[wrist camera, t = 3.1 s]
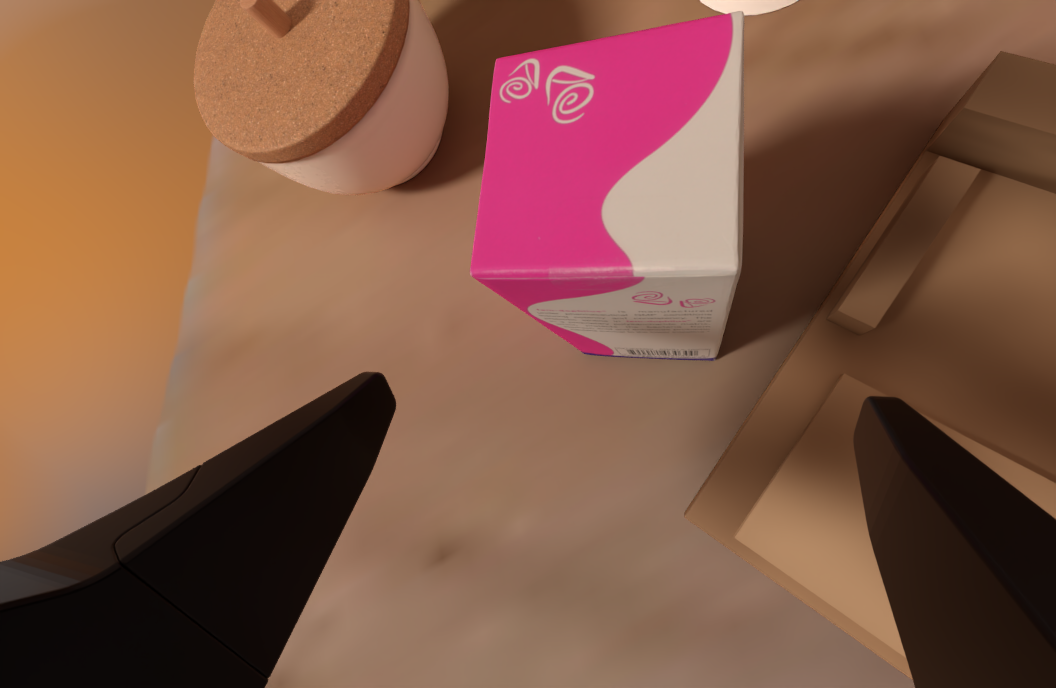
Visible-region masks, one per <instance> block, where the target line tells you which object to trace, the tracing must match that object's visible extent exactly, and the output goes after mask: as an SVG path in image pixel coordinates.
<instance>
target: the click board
mask: <svg viewBox="0 0 1056 688" xmlns="http://www.w3.org/2000/svg"><path fill="white" fill-rule="evenodd" d="M869 396H886V397H897V398H900V399H902V400H903V401H905V402H906V403H907V404H908V405H910V406H911V407H912V408H914V409H915V410H916V411H917V412H919V413H920V414H921V415H923V416H924V417H925V418H926V419H928V420H929V421H930V422H932V423H933V424H934V425H935V426H937V427H938V428H939V429H941V430H942V431H943V432H944V433H946V434H947V435H948V436H950V437H951V438H952V439H953V440H955V441H956V442H957V443H959V444H960V445H961V446H962V447H964V448H965V449H966V450H968V451H969V452H970V453H971V454H973V455H974V456H975V457H977V458H978V459H979V460H980V461H982V462H983V463H984V464H986V465H987V466H988V467H989V468H991V469H992V470H993V471H995V472H996V473H997V474H998V475H1000V476H1001V477H1002V478H1004V479H1005V480H1006V481H1008V482H1009V483H1010V484H1011V485H1013V486H1014V487H1015V488H1017V489H1018V490H1019V491H1020V492H1022V493H1023V494H1024V495H1026V496H1027V497H1028V498H1029V499H1031V500H1032V501H1033V502H1035V503H1036V504H1037V505H1038V506H1040V507H1041V508H1042V509H1044V510H1045V511H1046V512H1047V513H1049V514H1050V515H1051V516H1053V517H1054V518H1055V519H1056V65H1054V64H1050V63H1046V62H1042V61H1038V60H1034V59H1030V58H1026V57H1022V56H1018V55H1014V54H1010V53H1006V52H1002V51H1001V52H1000V53H999V54H998V55H997V57H996V58H995V59H994V60H993V61H992V63H991V64H990V65H989V66H988V67H987V68H986V70H985V71H984V72H983V73H982V74H981V76H980V77H979V78H978V79H977V80H976V82H975V83H974V84H973V85H972V86H971V88H970V89H969V90H968V91H967V92H966V93H965V95H964V96H963V97H962V98H961V99H960V101H959V102H958V103H957V104H956V105H955V107H954V108H953V109H952V110H951V111H950V113H949V114H948V115H947V116H946V117H945V119H944V120H943V121H942V123H941V124H940V126H939V127H938V129H937V130H936V132H935V134H934V135H933V137H932V138H931V140H930V141H929V143H928V144H927V146H926V147H925V149H924V150H923V152H922V153H921V155H920V156H919V158H918V159H917V161H916V162H915V164H914V165H913V167H912V168H911V170H910V171H909V173H908V174H907V176H906V177H905V179H904V181H903V182H902V184H901V185H900V187H899V188H898V190H897V191H896V193H895V194H894V196H893V197H892V199H891V200H890V202H889V203H888V205H887V206H886V208H885V209H884V211H883V212H882V214H881V215H880V217H879V218H878V220H877V221H876V223H875V225H874V226H873V228H872V229H871V231H870V232H869V234H868V235H867V237H866V238H865V240H864V241H863V243H862V244H861V246H860V247H859V249H858V250H857V252H856V253H855V255H854V256H853V258H852V259H851V261H850V262H849V264H848V265H847V267H846V268H845V270H844V272H843V273H842V275H841V276H840V278H839V279H838V281H837V282H836V284H835V285H834V287H833V288H832V290H831V291H830V293H829V294H828V296H827V297H826V299H825V300H824V302H823V303H822V305H821V306H820V308H819V309H818V311H817V312H816V314H815V316H814V317H813V319H812V320H811V322H810V323H809V325H808V326H807V328H806V329H805V331H804V332H803V334H802V335H801V337H800V338H799V340H798V341H797V343H796V344H795V346H794V347H793V349H792V350H791V352H790V353H789V355H788V356H787V358H786V359H785V361H784V363H783V364H782V366H781V367H780V369H779V370H778V372H777V373H776V375H775V376H774V378H773V379H772V381H771V382H770V384H769V385H768V387H767V388H766V390H765V391H764V393H763V394H762V396H761V397H760V399H759V400H758V402H757V403H756V405H755V406H754V408H753V410H752V411H751V413H750V414H749V416H748V417H747V419H746V420H745V422H744V423H743V425H742V426H741V428H740V429H739V431H738V432H737V434H736V435H735V437H734V438H733V440H732V441H731V443H730V444H729V446H728V447H727V449H726V450H725V452H724V454H723V455H722V457H721V458H720V460H719V461H718V463H717V464H716V466H715V467H714V469H713V470H712V472H711V473H710V475H709V476H708V478H707V479H706V481H705V482H704V484H703V485H702V487H701V488H700V490H699V491H698V493H697V494H696V496H695V497H694V499H693V501H692V502H691V504H690V505H689V507H688V508H687V510H686V511H685V515H684V517H685V518H686V519H687V520H689V521H690V522H692V523H693V524H694V525H696V526H697V527H699V528H700V529H701V530H703V531H704V532H706V533H707V534H708V535H710V536H711V537H713V538H714V539H715V540H717V541H718V542H720V543H721V544H723V545H724V546H725V547H727V548H728V549H730V550H731V551H732V552H734V553H735V554H737V555H738V556H739V557H741V558H742V559H744V560H745V561H746V562H748V563H749V564H751V565H752V566H753V567H755V568H756V569H758V570H759V571H760V572H762V573H763V574H765V575H766V576H767V577H769V578H770V579H772V580H773V581H774V582H776V583H777V584H779V585H780V586H781V587H783V588H784V589H786V590H787V591H788V592H790V593H791V594H793V595H794V596H795V597H797V598H798V599H800V600H801V601H802V602H804V603H805V604H807V605H808V606H809V607H811V608H812V609H814V610H815V611H816V612H818V613H819V614H821V615H822V616H823V617H825V618H826V619H828V620H829V621H830V622H832V623H833V624H835V625H836V626H838V627H839V628H840V629H842V630H843V631H845V632H846V633H847V634H849V635H850V636H852V637H853V638H854V639H856V640H857V641H859V642H860V643H861V644H863V645H864V646H866V647H867V648H868V649H870V650H871V651H873V652H874V653H875V654H877V655H878V656H880V657H881V658H882V659H884V660H885V661H887V662H888V663H889V664H891V665H892V666H894V667H895V668H896V669H898V670H899V671H901V672H902V673H903V674H905V675H906V676H908V677H909V678H910V679H912V680H913V678H912V675H911V672H910V669H909V665H908V662H907V659H906V656H905V652H904V649H903V646H902V643H901V639H900V636H899V633H898V630H897V626H896V623H895V620H894V617H893V613H892V610H891V607H890V604H889V600H888V597H887V594H886V591H885V587H884V584H883V581H882V578H881V574H880V571H879V568H878V565H877V561H876V558H875V555H874V552H873V548H872V544H871V541H870V537H869V532H868V527H867V522H866V516H865V511H864V505H863V499H862V493H861V487H860V481H859V475H858V469H857V463H856V457H855V452H854V445H853V436H854V430H855V427H856V424H857V421H858V417H859V414H860V411H861V408H862V404H863V402H864V400H865V399H866V398H867V397H869Z"/></svg>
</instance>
